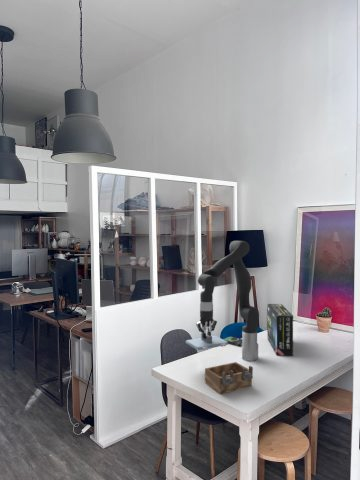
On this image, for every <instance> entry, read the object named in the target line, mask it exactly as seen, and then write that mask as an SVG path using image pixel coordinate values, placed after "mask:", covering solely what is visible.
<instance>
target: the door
mask: <svg viewBox="0 0 360 480" xmlns="http://www.w3.org/2000/svg"><path fill="white" fill-rule="evenodd" d="M200 335H201V337H198V338H192V339H187V340H185V344H186V345H187V346H188V345H189V347H191V348H193V349H195V350H196V351H206V350H208V349H212V348H218V347H227V346H228V345H229V344H228V342H227V341H225V340H223V339H224V338H221V337H219V336H217V335H211V336H210V335H208V334H207V333H206V339H203V338H202V333H200Z"/></svg>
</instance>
